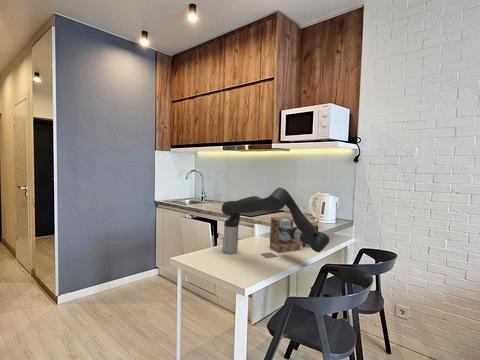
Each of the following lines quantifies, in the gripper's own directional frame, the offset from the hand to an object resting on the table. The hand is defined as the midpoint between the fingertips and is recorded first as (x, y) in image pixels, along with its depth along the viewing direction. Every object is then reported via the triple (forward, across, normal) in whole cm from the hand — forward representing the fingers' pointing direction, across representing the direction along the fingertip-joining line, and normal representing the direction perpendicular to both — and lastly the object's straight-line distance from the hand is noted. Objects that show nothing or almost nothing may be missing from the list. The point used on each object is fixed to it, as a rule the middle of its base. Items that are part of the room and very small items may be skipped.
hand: (282, 228), depth 177 cm
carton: (-3, 0, +6) cm, 7 cm away
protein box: (+13, -35, +18) cm, 41 cm away
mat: (+3, +8, +18) cm, 19 cm away
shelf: (+10, -11, +18) cm, 23 cm away
